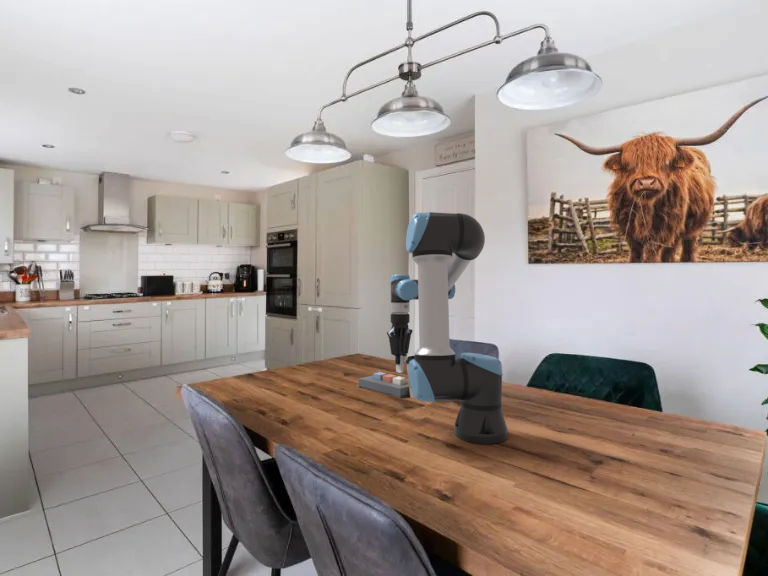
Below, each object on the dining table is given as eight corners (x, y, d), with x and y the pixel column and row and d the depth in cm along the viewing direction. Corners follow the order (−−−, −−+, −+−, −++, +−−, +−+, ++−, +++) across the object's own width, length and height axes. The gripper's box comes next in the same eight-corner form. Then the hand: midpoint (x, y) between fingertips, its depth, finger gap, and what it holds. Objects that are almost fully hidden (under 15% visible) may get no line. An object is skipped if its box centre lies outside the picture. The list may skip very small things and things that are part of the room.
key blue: (380, 381, 177) (380, 375, 177) (373, 379, 179) (373, 373, 179) (386, 379, 180) (386, 373, 179) (379, 378, 182) (380, 372, 182)
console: (400, 397, 163) (400, 388, 163) (358, 387, 179) (358, 378, 179) (421, 391, 172) (421, 382, 172) (380, 381, 188) (380, 373, 188)
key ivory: (400, 385, 169) (400, 379, 169) (392, 384, 172) (392, 377, 172) (406, 384, 172) (406, 377, 172) (399, 382, 175) (399, 376, 175)
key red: (389, 383, 173) (389, 377, 173) (382, 381, 176) (382, 375, 176) (396, 381, 176) (396, 375, 176) (389, 380, 178) (389, 374, 178)
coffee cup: (432, 400, 160) (432, 360, 159) (405, 400, 160) (406, 360, 160) (430, 393, 170) (430, 355, 169) (405, 393, 170) (405, 355, 170)
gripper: (396, 314, 164) (395, 376, 165) (417, 312, 173) (417, 371, 174) (381, 313, 169) (381, 373, 170) (403, 311, 178) (403, 368, 179)
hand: (399, 372), depth 172 cm, fingers closed
